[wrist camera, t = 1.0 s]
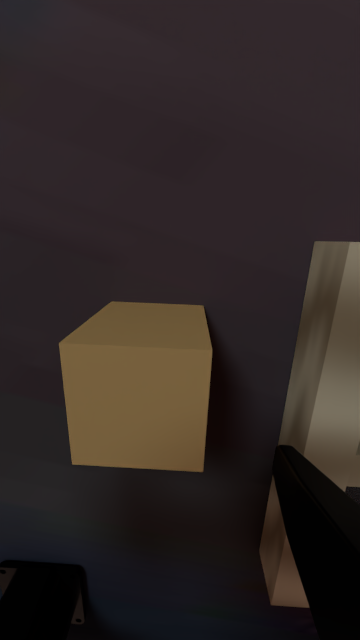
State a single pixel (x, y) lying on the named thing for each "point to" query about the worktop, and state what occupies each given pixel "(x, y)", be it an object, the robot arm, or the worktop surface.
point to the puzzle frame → (319, 400)
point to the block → (138, 387)
